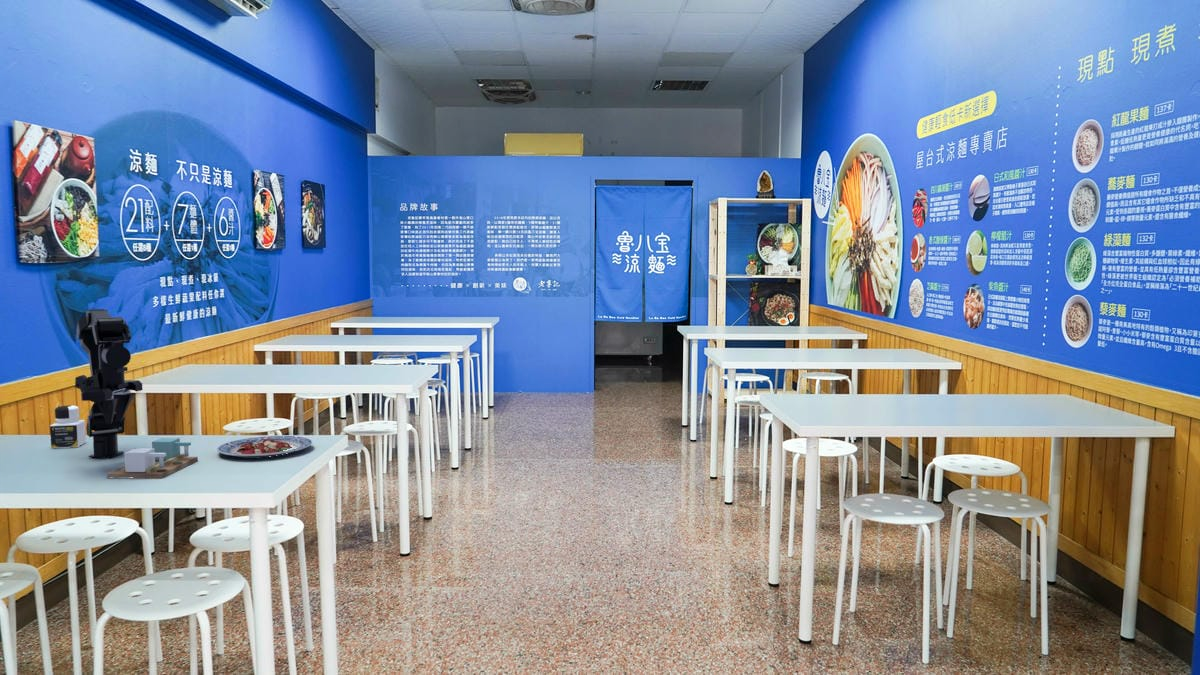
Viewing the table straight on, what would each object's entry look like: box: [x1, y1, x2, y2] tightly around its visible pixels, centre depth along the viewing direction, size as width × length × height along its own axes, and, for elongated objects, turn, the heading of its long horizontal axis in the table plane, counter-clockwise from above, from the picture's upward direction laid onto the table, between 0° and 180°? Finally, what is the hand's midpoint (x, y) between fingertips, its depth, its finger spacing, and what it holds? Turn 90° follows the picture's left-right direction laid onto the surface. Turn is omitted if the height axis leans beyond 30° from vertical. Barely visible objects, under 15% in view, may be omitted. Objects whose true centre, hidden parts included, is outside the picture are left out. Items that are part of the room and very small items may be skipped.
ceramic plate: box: [216, 435, 313, 459], centre depth 247 cm, size 26×26×3 cm
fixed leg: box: [124, 447, 166, 472], centre depth 220 cm, size 5×9×5 cm, turn 89°
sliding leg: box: [151, 437, 192, 460], centre depth 232 cm, size 5×9×5 cm, turn 89°
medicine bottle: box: [49, 404, 87, 449], centre depth 255 cm, size 7×7×12 cm
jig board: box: [106, 452, 199, 479], centre depth 226 cm, size 19×14×2 cm
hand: (114, 422), depth 229 cm, fingers open, 5 cm apart
